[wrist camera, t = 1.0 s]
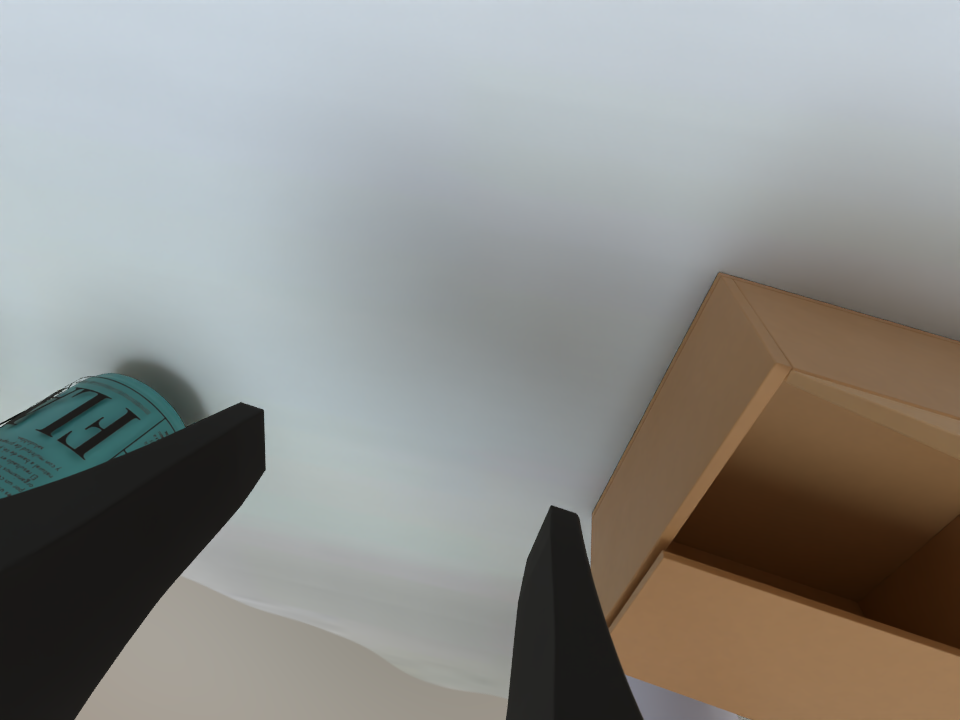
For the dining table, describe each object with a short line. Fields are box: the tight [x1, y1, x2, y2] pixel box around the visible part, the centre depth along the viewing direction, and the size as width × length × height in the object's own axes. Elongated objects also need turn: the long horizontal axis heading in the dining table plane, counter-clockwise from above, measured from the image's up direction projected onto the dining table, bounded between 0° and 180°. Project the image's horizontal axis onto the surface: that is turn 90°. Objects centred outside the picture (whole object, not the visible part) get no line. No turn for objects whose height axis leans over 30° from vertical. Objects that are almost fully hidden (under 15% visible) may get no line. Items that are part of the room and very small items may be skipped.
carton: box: [591, 272, 960, 720], centre depth 16 cm, size 13×13×7 cm
